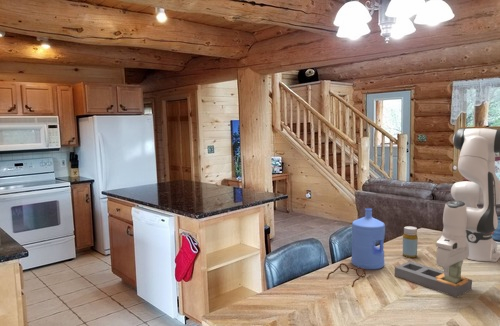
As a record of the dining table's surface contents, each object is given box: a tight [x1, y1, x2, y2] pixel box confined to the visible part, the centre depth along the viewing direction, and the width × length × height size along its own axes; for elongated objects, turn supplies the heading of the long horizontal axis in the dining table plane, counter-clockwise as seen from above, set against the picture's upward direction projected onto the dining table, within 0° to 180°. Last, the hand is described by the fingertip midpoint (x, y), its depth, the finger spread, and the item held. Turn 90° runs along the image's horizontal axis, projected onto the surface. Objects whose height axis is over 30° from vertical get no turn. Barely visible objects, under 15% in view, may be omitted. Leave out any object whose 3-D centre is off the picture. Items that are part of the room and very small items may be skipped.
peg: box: [444, 261, 462, 284], centre depth 161 cm, size 4×4×12 cm
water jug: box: [351, 207, 386, 270], centre depth 190 cm, size 16×16×28 cm
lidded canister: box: [402, 225, 419, 258], centre depth 202 cm, size 7×7×15 cm
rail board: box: [394, 260, 473, 298], centre depth 169 cm, size 12×28×4 cm, turn 36°
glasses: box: [326, 262, 367, 288], centre depth 174 cm, size 13×13×5 cm
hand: (452, 272), depth 161 cm, fingers open, 8 cm apart
